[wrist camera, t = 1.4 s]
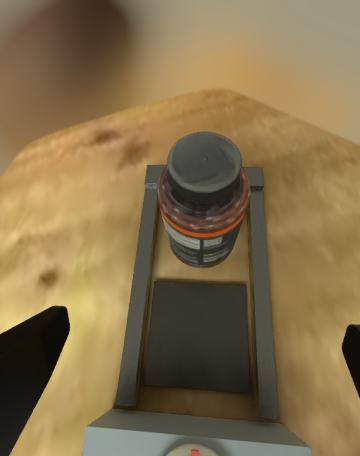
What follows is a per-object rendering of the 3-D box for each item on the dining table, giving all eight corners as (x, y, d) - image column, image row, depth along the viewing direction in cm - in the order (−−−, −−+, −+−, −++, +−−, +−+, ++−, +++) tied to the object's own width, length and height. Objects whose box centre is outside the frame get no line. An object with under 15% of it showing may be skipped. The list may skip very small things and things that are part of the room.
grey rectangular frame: (272, 414, 19) (280, 421, 17) (120, 401, 20) (113, 406, 18) (258, 180, 27) (262, 167, 25) (150, 177, 28) (147, 165, 26)
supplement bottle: (202, 198, 26) (208, 100, 16) (248, 240, 24) (287, 159, 14) (155, 236, 25) (127, 156, 15) (199, 284, 23) (203, 230, 13)
